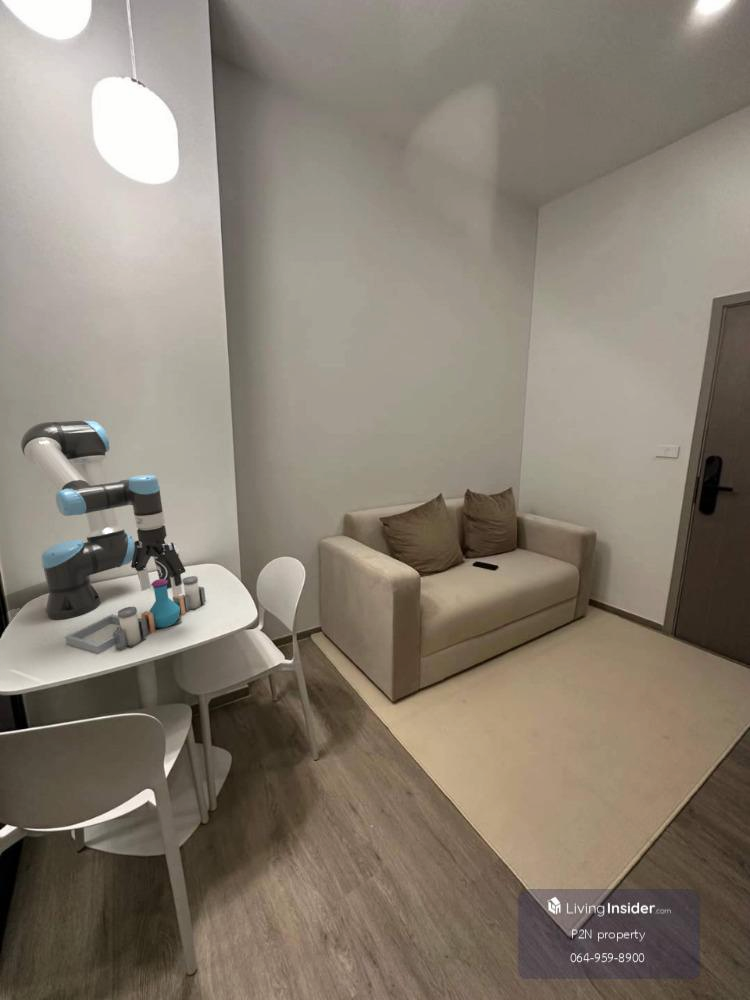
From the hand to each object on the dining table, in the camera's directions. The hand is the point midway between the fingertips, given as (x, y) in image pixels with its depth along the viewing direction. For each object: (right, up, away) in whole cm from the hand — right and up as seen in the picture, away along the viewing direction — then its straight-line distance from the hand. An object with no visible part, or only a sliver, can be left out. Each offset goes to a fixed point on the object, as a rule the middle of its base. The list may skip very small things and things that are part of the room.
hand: (161, 592), depth 124 cm
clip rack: (0, -11, +3) cm, 11 cm away
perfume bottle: (0, -11, +3) cm, 12 cm away
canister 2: (+4, -8, +13) cm, 16 cm away
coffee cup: (-14, -5, +32) cm, 36 cm away
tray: (-14, -13, -4) cm, 20 cm away
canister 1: (-4, -13, -8) cm, 16 cm away
